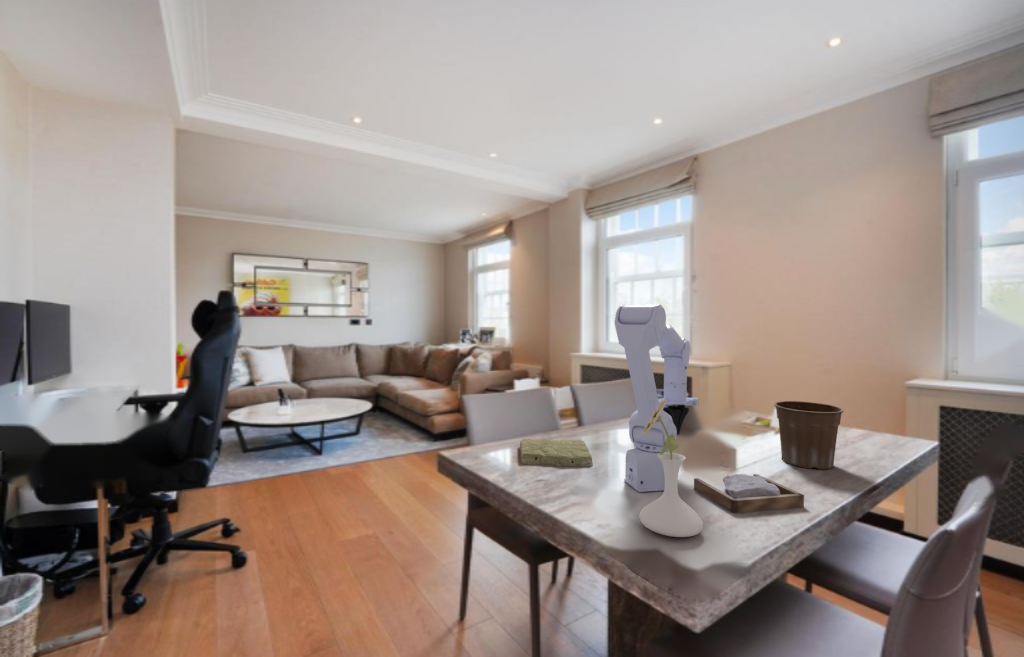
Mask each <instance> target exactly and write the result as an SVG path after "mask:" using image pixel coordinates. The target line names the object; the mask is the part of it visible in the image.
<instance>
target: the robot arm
mask: <svg viewBox="0 0 1024 657" xmlns="http://www.w3.org/2000/svg"><path fill="white" fill-rule="evenodd" d="M666 323H667V316H666V310H665V307H663V305H662V304H660V303H659V304H645V305H644V304H642V305H641V304H637V305H636V304H635V305H633V304H632V305H626V304H621V305H619V307H618V308H617V310H616V312H615V317H614V326H615V332H616V337H617V340H618V344H619V345H620V346H622V348H624V353H625V358H626V362H627V367H628V371H629V372H628V373H629V377H630V381H631V385H632V391H633V395H634V400H635V405H636V410H635V411H634V412H632V414H631V415H630V418H629V421H628V426H629V430H628V432H629V433H628V435H629V439H630V441H631V443H633V444H634V448H630V449H628V450H627V451H626V454H625V472H624V473H625V474H624V475H625V478H624V479H623V481H624V482H625V483H626V484H628V485H629V487H630V486H631V487H632V488H633V489H634V490H636V492H639V493H645V492H660V491H664V489H665V475H664V468H663V465H662V462H661V460H660V459H659V457H658V454H659V453H661V450H662V448H663V447H664V446H665V443H664V441H665V440H666V438H667V435H666V432H665V430H664V428H663V426H662V424H661V422H655V423H654V425H653V426H652V428H651V429H650V430H649V432H648V433H647V434H643V433H644V432H643V433H642V431H643V430H644V428H645V426H646V424H647V423H648V422H649V421H650V419H651V417H652V415H653V413H654V412H655V411H656V410H657V408H658V406H659V404H660V402H661V401H662V399H665V398H666V400H667V401H666V404H665V406H664V408H663V410H662V412H661V414H660V416H661V420H662V422H663V423H664V425H665V428H666V430H667V432H668V435H669V436H670V435H671V434H673V435H674V437H675V439H676V440H677V436H679V435H680V432H681V430H682V425H683V423H684V420H685V419H686V416H687V415H688V413H689V411H690V409H689V406H690V407H691V406H695V407H698V406H699V402H700V398H697V397H687V395H688V394H687V392H688V390H687V388H688V385H687V384H688V381H687V380H688V367H689V365H690V355H691V350H692V349H691V343H690V340H687V338H685V337H684V338H683V337H681V335H679V333H678V332H677V331H676V329H675V328H674V327H673V326H672V325H671V324H666ZM655 347H658V348H659V351H660V356H661V358H662V359H663V398H659V397H658V390H657V386H656V381H655V374H654V370H653V365H652V360H651V355H650V350H652V349H654V348H655ZM663 401H664V400H663ZM665 452H670V450H669V449H668V448H667V449H666V451H665Z"/></svg>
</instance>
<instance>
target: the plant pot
mask: <svg viewBox="0 0 1024 657" xmlns="http://www.w3.org/2000/svg"><path fill="white" fill-rule="evenodd" d="M773 406H774V407H775V410H776V411H775V412H776V418H777V419H778V420H777V421H778V427H779V428H778V429H779V439H780V449H781V450H780V451H781V452H780V453H781V460H783V462H785V463H787V464H789V465H792V466H794V467H798V468H803V469H804V468H805V469H809V470H810V469H812V468H816V469H817V470H830V469H832V468H833V467H834V464H835V457H836V456H835V454H836V447H837V446H836V445H837V439H838V438H837V437H838V433H839V432H838V430H839V426H840V425H841V419H842V414H843V413H844V410H845V409H843V408H842V407H839V406H837V405H832V404H826V403H819V402H812V401H810V402H809V401H800V400H799V401H798V400H785V401H784V400H783V401H776V402H774V404H773Z"/></svg>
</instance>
